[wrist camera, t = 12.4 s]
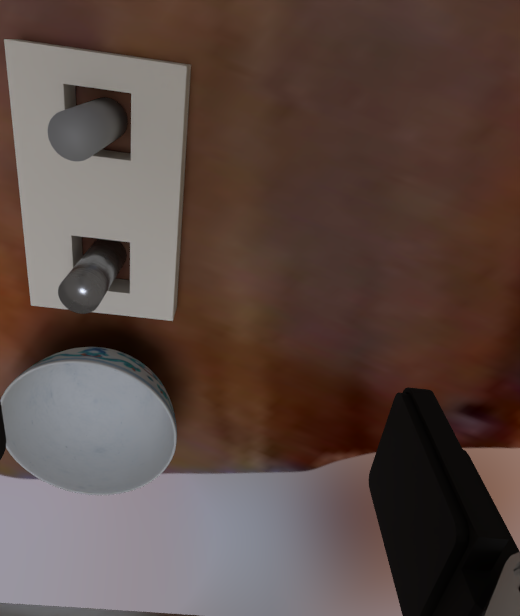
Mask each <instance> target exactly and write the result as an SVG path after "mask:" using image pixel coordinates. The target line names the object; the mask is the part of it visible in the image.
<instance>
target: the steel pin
mask: <svg viewBox="0 0 520 616" xmlns="http://www.w3.org/2000/svg"><path fill="white" fill-rule="evenodd" d="M126 256H127V255H126V250H125V248H124V246H123V245H122V244H121V243H120V242H119V241H114V240H106V239H98V240H96V241H95V242H94V243H93V245H92V246H91V247H90V248H89V249H88V251H87V252H86V253H85V254H84V255H83V257H82V258H81V259H80V260H79V262H78V263H77V264H76V265H75V266H74V268H73V269H72V270H71V271H70V272H69V274H68V275H67V276H66V277H65V279H64V280H63V281H62V282H61V283H60V285H59V288H58V296H59V299H60V301H61V302H62V304H63V305H64V306H65V307H66V308H68V309H69V310H71V311H73V312H76V313H82V314H84V313H90V312H92V311H94V310H95V309H96V308H97V307H98V306H99V304H100V302H101V301H102V299H103V298H104V296H105V294H106V293H107V291H108V289H109V288H110V286H111V284H112V283H113V281H114V279H115V278H116V276H117V274H118V273H119V271H120V269H121V268H122V266H123V264H124V263H125V261H126Z"/></svg>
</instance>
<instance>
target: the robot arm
mask: <svg viewBox="0 0 520 616" xmlns="http://www.w3.org/2000/svg"><path fill="white" fill-rule="evenodd" d="M5 448H6V434H5V428H4V421H3V414H2V408H1V401H0V460H1V458H2V456H3V454H4V451H5ZM369 488H370V492H371V496H372V500H373V504H374V507H375V511H376V515H377V519H378V522H379V526H380V530H381V534H382V538H383V542H384V546H385V550H386V553H387V557H388V561H389V565H390V568H391V573H392V576H393V580H394V584H395V588H396V591H397V595H398V599H399V603H400V607H401V611H402V614H403V616H520V552H519V550H518V548H517V546H516V544H515V542H514V540H513V538H512V536H511V534H510V533H509V531H508V529H507V527H506V525H505V523H504V521H503V519H502V517H501V515H500V514H499V512H498V510H497V508H496V506H495V504H494V502H493V500H492V498H491V496H490V494H489V493H488V491H487V489H486V487H485V485H484V483H483V481H482V479H481V477H480V475H479V474H478V472H477V470H476V468H475V466H474V464H473V462H472V460H471V458H470V457H469V455H468V454H467V452H466V451H465V450H463V449H462V448H461V446H460V444H459V442H458V440H457V438H456V436H455V434H454V432H453V430H452V428H451V426H450V424H449V422H448V420H447V419H446V417H445V415H444V413H443V411H442V409H441V407H440V405H439V403H438V401H437V399H436V397H435V395H434V393H433V392H432V391H431V390H426V389H417V388H405V390H404V391H403V393H397V394H396V396H395V398H394V401H393V404H392V407H391V410H390V413H389V416H388V419H387V422H386V425H385V428H384V431H383V434H382V437H381V440H380V443H379V446H378V449H377V452H376V455H375V458H374V461H373V464H372V467H371V470H370V474H369ZM0 616H197V615H182V614H167V613H152V612H137V611H121V610H106V609H91V608H90V609H89V608H75V607H57V606H41V605H25V604H8V603H0Z"/></svg>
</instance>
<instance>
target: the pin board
mask: <svg viewBox="0 0 520 616" xmlns="http://www.w3.org/2000/svg"><path fill="white" fill-rule="evenodd" d="M4 44H5V54H6V64H7V74H8V84H9V93H10V103H11V113H12V123H13V133H14V143H15V153H16V162H17V172H18V182H19V192H20V202H21V212H22V221H23V231H24V241H25V251H26V261H27V271H28V281H29V290H30V300H31V306H41V307H50V308H59V309H68V308H66V307H65V306H64V305H63V304H62V302H61V301H60V299H59V296H58V288H59V285H60V283H61V282H62V281H63V280H64V279H65V277H66V276H67V275H68V274H69V272H70V271H71V270H72V269H73V268H74V266H75V265H76V264H77V263H78V262H79V260H80V259H81V258H82V257H83V254H82V237H89V238H98V239H106V240H114V241H123V242H130V280H123V279H114V281H113V283H112V284H111V286H110V288H109V289H108V291H107V293H106V294H105V296H104V298H103V299H102V301H101V302H100V304H99V306H98V307H97V308H96V309H95V310H94V311H92V312H96V313H105V314H114V315H123V316H132V317H142V318H151V319H160V320H169V321H173V318H174V315H175V311H176V308H177V294H178V277H179V260H180V244H181V227H182V210H183V193H184V176H185V159H186V142H187V125H188V108H189V92H190V75H191V65H190V64H183V63H176V62H169V61H163V60H156V59H149V58H142V57H135V56H129V55H122V54H115V53H108V52H101V51H95V50H88V49H81V48H74V47H67V46H61V45H54V44H47V43H40V42H34V41H27V40H19V39H4ZM75 85H76V86H83V87H90V88H97V89H104V90H112V91H119V92H126V93H131V153H125V152H117V151H110V150H102V149H103V148H104V147H106V146H107V145H109V144H110V143H112V142H113V141H115V140H116V139H118V138H119V137H121V136H122V135H123V134H124V132H125V131H126V128H127V125H128V119H127V115H126V112H125V110H124V108H123V107H122V106H121V105H120V104H119V103H118V102H117V101H115V100H113V99H111V98H105V97H104V98H99V99H96V100H93V101H90V102H87V103H84V104H81V105H78V106H76V89H75ZM68 310H69V309H68Z"/></svg>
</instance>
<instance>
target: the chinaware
mask: <svg viewBox="0 0 520 616" xmlns="http://www.w3.org/2000/svg"><path fill="white" fill-rule="evenodd" d="M0 401H1V408H2V414H3V421H4V428H5V434H6V448H7V450H8V451H9V453H10V454H11V455H12V457H13V458H14V459H15V460H16V461H17V462H18V463H19V464H20V465H21V466H22V467H23V468H24V469H26V470H27V471H28V472H30V473H31V474H32V475H34V476H35V477H37V478H39V479H40V480H42V481H44V482H46V483H49V484H50V485H53V486H55V487H58V488H61V489H64V490H67V491H71V492H75V493H81V494H88V495H113V494H120V493H125V492H129V491H132V490H135V489H138V488H140V487H142V486H144V485H146V484H148V483H150V482H151V481H153V480H154V479H155V478H157V477H158V476H159V475H160V474H161V473H162V472H163V471H164V470H165V469H166V467H167V466H168V465H169V463H170V461H171V459H172V457H173V455H174V452H175V448H176V441H177V429H176V420H175V414H174V410H173V406H172V403H171V400H170V398H169V395H168V393H167V391H166V389H165V388H164V386H163V384H162V383H161V381H160V380H159V379H158V377H157V376H156V375H155V374H154V373H153V372H152V371H151V370H150V369H149V368H148V367H147V366H146V365H144V364H143V363H142V362H140V361H139V360H137V359H135V358H134V357H132V356H130V355H128V354H125V353H123V352H120V351H117V350H113V349H109V348H103V347H79V348H73V349H69V350H65V351H61V352H58V353H56V354H53V355H51V356H49V357H46V358H44V359H43V360H41V361H39V362H37V363H36V364H34V365H33V366H31V367H30V368H28V369H27V370H26V371H24V372H23V373H22V374H20V375H19V376H18V377H17V378H16V379H15V380H14V381H13V382H12V383H11V384H10V385H9V386H8V388H7V389H6V391H5V392H4V394H3V396H2V398H1V400H0Z"/></svg>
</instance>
